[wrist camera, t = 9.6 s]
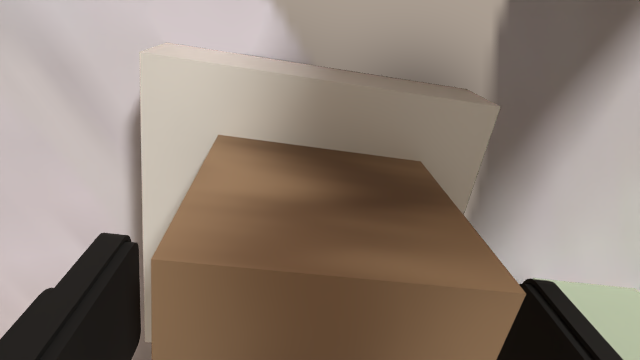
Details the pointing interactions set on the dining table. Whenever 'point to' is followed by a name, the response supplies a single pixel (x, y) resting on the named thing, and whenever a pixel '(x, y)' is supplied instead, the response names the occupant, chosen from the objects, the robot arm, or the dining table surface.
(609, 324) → the sage block
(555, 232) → the dining table surface
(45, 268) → the dining table surface
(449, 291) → the walnut block
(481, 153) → the stone base
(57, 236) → the dining table surface
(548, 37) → the dining table surface
